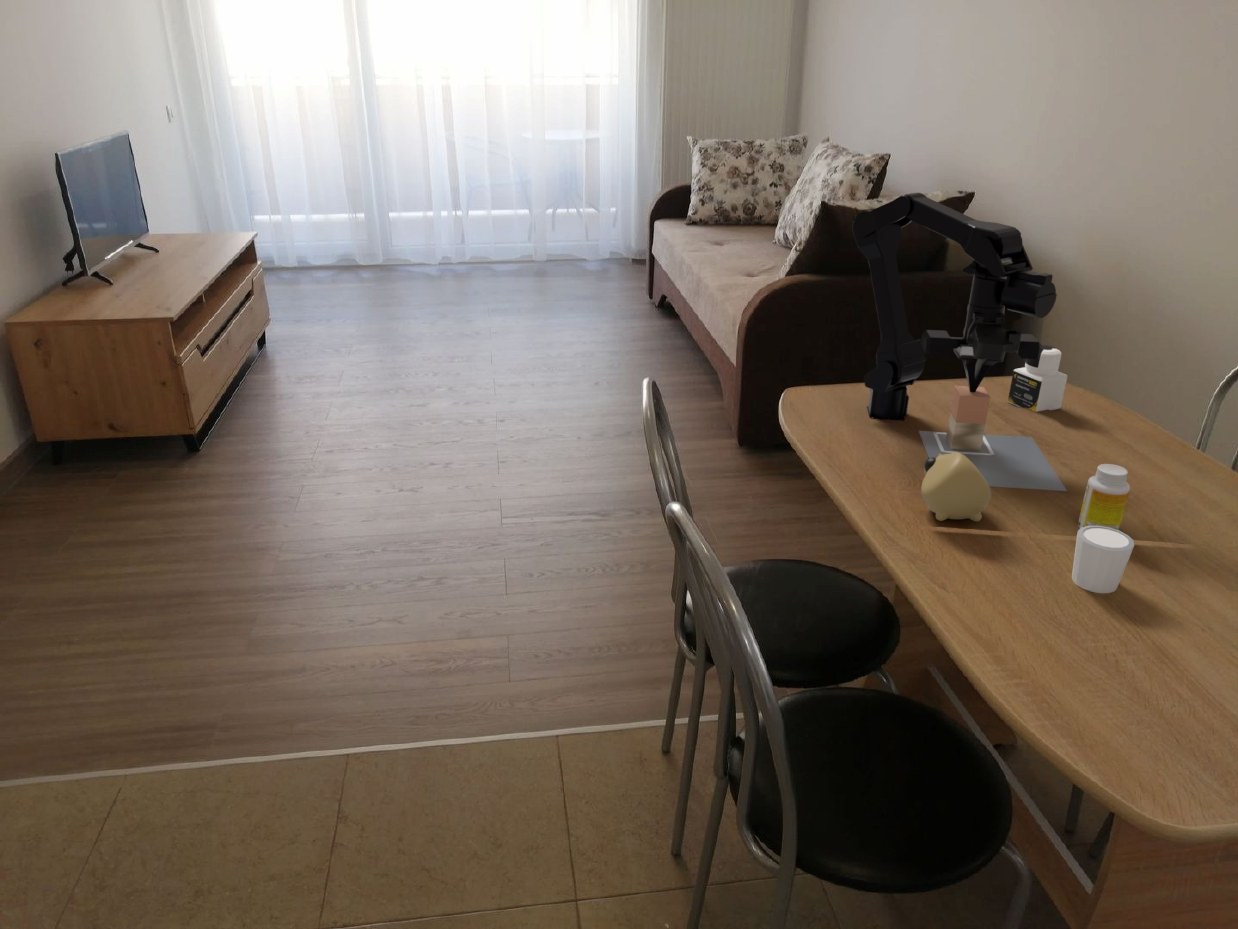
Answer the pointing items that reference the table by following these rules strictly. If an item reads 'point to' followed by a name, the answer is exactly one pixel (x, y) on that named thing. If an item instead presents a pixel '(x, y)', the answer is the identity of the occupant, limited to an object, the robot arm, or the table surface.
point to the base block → (964, 435)
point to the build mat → (1002, 460)
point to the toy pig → (954, 487)
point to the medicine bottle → (1039, 382)
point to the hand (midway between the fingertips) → (971, 391)
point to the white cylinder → (1100, 558)
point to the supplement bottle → (1105, 497)
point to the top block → (969, 405)
